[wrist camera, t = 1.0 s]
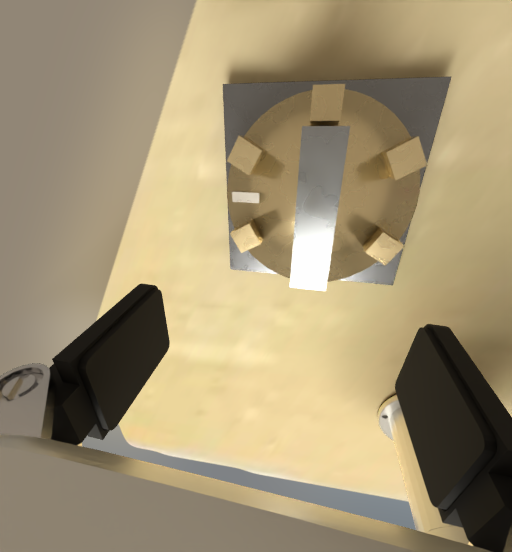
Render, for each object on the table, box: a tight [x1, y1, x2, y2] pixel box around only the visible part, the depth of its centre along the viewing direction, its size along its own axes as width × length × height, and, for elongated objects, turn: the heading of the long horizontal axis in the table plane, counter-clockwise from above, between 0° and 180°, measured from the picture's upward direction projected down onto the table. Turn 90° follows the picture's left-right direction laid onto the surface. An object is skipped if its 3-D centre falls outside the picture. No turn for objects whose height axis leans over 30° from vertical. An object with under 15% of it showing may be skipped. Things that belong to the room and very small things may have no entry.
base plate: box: [223, 77, 451, 285], centre depth 29 cm, size 20×20×2 cm
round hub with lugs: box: [227, 84, 427, 291], centre depth 24 cm, size 18×18×10 cm
